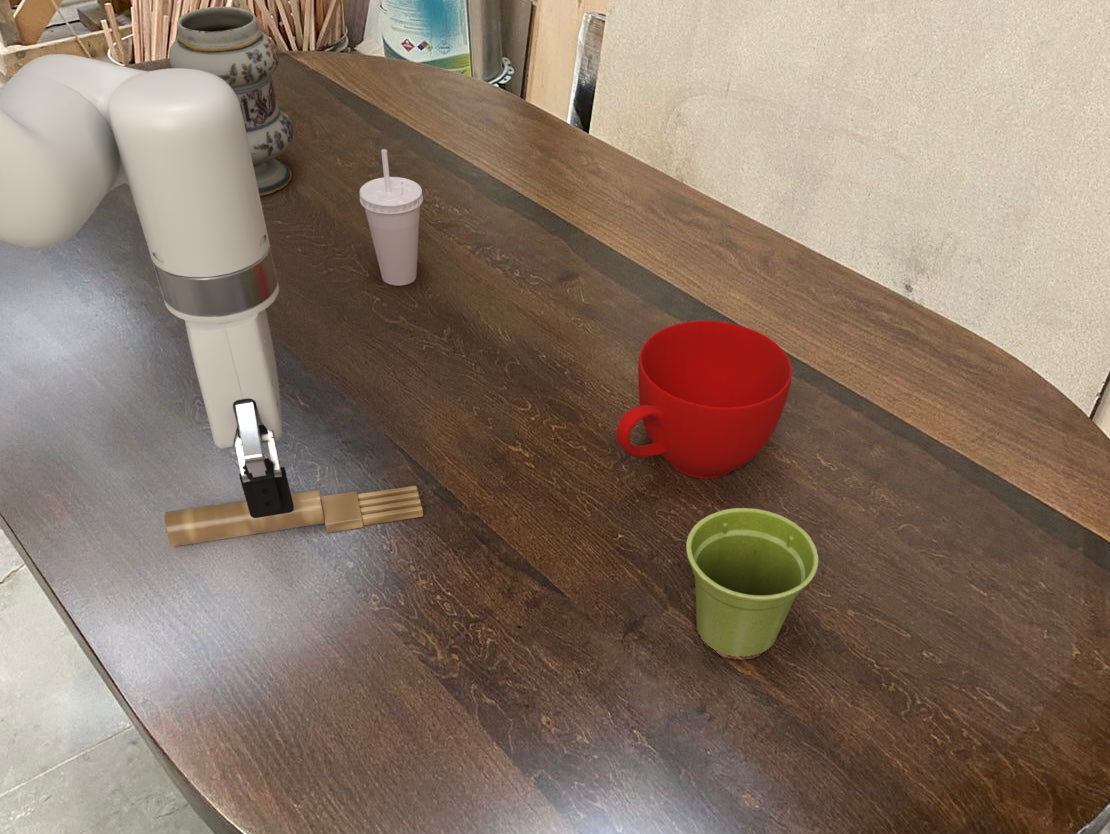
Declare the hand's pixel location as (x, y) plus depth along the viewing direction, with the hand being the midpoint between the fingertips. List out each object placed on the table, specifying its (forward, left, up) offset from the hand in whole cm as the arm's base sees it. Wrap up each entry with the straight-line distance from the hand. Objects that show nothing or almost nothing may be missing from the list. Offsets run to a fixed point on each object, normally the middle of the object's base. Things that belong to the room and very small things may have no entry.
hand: (267, 472), depth 84 cm
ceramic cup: (+36, 0, -6) cm, 36 cm away
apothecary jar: (+2, +63, -6) cm, 63 cm away
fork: (+2, 0, -6) cm, 6 cm away
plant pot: (+33, -20, -6) cm, 39 cm away
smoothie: (+16, +37, -6) cm, 41 cm away
